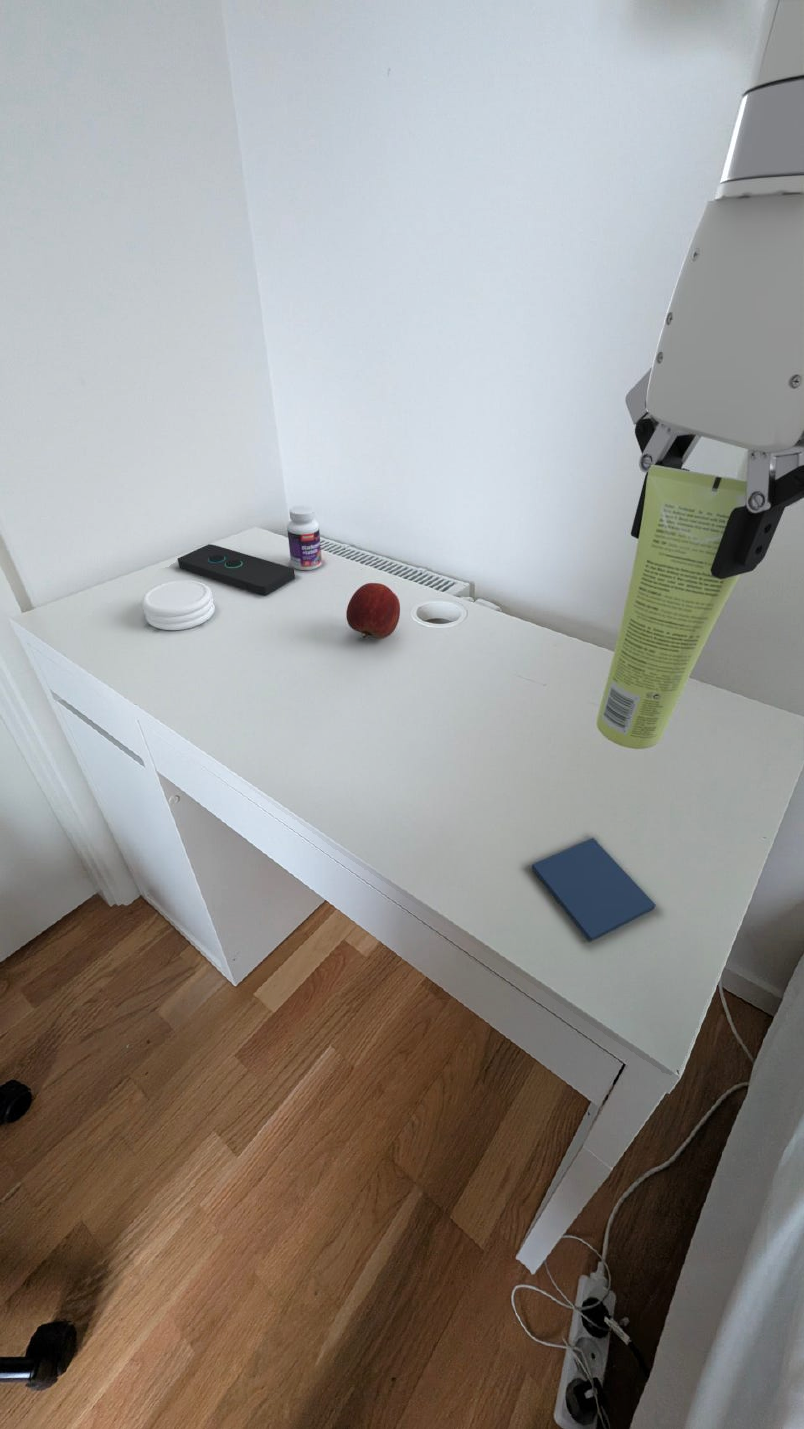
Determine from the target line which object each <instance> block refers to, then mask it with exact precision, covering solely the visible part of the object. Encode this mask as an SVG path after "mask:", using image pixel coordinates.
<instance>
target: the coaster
mask: <svg viewBox="0 0 804 1429" xmlns="http://www.w3.org/2000/svg"><path fill="white" fill-rule="evenodd" d="M141 607H142V608H143V613H144V615H145V619H146V622H147V623H148V624H149V625H151V627H154V628H157V629H160V630H163V631H164V630H165V631H182V630H188V629H192V628H195V627H197V626H200V625H202V624H204V623H206V622H208V620H210V618H212V616H213V615H214V614H215V611H216V605H215V603H214V598H213V592H212V589H211V588H210V587H209V586H208V585H206V584H205V583H202V582H200V581H195V580H186V579H185V580H183V579H181V580H173V581H167V582H163V583H160V584H158V585H156V586H153V587H152V588H149V589H148V591H146V592H145V593H144V594H143V595H142V597H141Z"/></svg>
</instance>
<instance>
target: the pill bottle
mask: <svg viewBox="0 0 804 1429" xmlns="http://www.w3.org/2000/svg"><path fill="white" fill-rule="evenodd" d="M289 519H290V521H289V522H288V523H287V526H286V530H287V539H288V547H289V556H290V563H291V564H290V565H291V566H292V568H293V569H296V570H299V571H311V570H312V571H313V570H315V569H318V568H319V567H320V566H322V563H323V560H322V559H323V558H322V548H321V532H320V524H319V523H318V521H317V520H315V511H314V508H313V507H312V506H309V505H297V506H296V505H295V506H293V507H290V508H289Z"/></svg>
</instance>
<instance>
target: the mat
mask: <svg viewBox="0 0 804 1429" xmlns="http://www.w3.org/2000/svg"><path fill="white" fill-rule="evenodd" d="M531 870H532V871H533V872H534V873H535V875H536V876H537V877H538V879H539V880H540V881H541V882H542V883H543V885H544V886H545V887H546V889H547V890H548V891H549V892H550V893H551V895H552V896H553V897H554V899H555V901H557V902H558V904H559V905H560V906H561V908H562V909H563V910H564V911H565V913H566V914H567V915H568V917H569V918H570V919H571V920H572V921H573V923H574V924H575V926H577V928H578V929H579V930H580V932H582V934H583V935H584V936H585V938H586V939H587V941H588V942H590V943H591V942H593V941H595V940H597V939H599V938H600V937H603V936H605V935H607V934H609V933H610V932H612V931H614V930H616V929H618V928H620V927H622V926H624V925H626V924H628V923H630V922H632V921H633V920H636V919H638V918H639V917H641V916H643V915H645V914H647V913H649V912H651V911H653V910H655V908H656V903H655V902H654V901H653V900H652V899H651V898H650V897H649V896H648V895H647V894H646V893H645V892H644V890H642V888H640V886H639V885H638V884H637V882H635V881H634V880H633V879H632V878H631V876H629V875H628V873H627V872H625V871H624V869H623V868H622V867H621V866H620V865H619V864H618V863H617V862H616V861H615V859H614V858H612V856H611V855H610V854H609V853H608V852H607V851H606V850H605V849H604V848H603V847H602V845H601V844H599V843H598V842H597V840H596V839H595V838H594V837H591V838H589V839H587V840H584V841H582V842H580V843H578V844H575V845H573V846H571V847H569V848H567V849H564V850H562V851H560V852H557V853H555V854H553V855H551V856H548V857H545V858H544V859H541V860H539V861H537V862H534V863H532V864H531Z"/></svg>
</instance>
